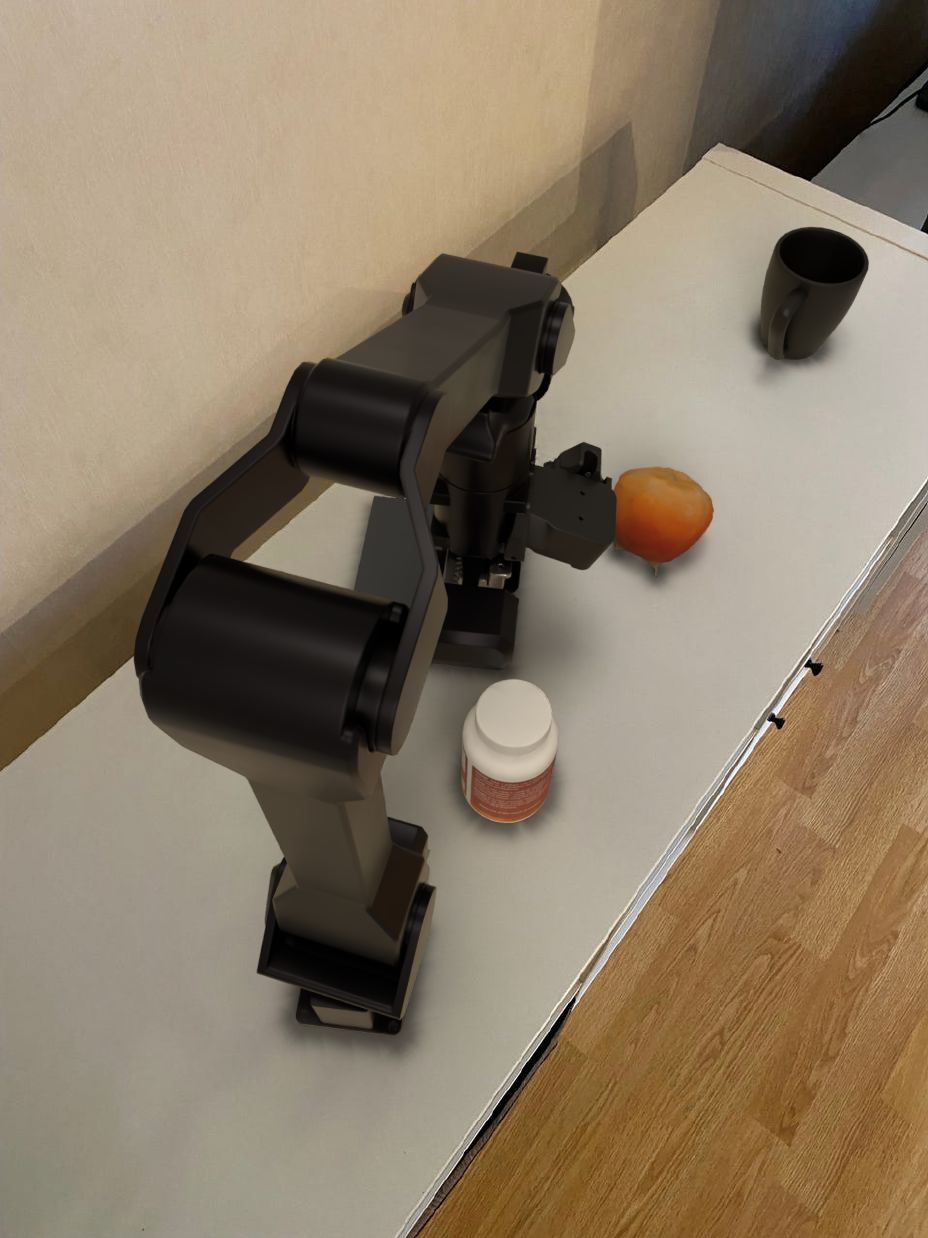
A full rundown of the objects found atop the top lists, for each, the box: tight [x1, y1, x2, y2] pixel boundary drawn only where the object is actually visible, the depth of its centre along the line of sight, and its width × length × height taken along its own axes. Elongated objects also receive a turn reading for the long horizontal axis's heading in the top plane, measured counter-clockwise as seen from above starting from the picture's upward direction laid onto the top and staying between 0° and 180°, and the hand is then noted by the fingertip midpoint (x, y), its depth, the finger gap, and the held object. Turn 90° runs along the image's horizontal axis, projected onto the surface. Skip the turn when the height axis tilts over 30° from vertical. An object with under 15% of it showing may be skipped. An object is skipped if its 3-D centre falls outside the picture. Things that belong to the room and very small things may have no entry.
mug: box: [760, 226, 870, 361], centre depth 88 cm, size 8×12×10 cm
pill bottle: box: [460, 678, 560, 824], centre depth 63 cm, size 6×6×11 cm
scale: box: [353, 495, 504, 671], centre depth 75 cm, size 14×12×4 cm
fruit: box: [612, 466, 715, 578], centre depth 77 cm, size 8×8×8 cm
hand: (474, 602), depth 70 cm, fingers closed
